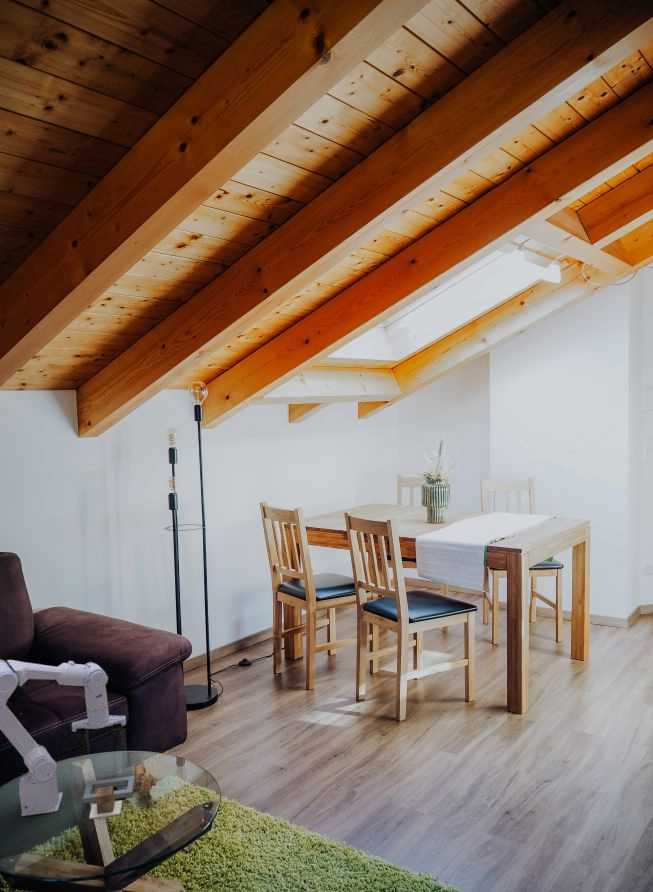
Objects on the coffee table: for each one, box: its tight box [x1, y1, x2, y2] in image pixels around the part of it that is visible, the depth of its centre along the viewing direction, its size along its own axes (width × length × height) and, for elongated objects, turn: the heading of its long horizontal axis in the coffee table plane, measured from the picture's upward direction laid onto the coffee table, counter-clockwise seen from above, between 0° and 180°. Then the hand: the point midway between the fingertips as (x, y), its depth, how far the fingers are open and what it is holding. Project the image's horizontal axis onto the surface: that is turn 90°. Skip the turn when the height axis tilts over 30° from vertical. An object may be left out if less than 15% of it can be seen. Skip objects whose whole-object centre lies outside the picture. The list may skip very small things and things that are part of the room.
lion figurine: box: [133, 763, 158, 804], centre depth 212 cm, size 15×5×9 cm, turn 31°
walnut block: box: [95, 786, 116, 814], centre depth 205 cm, size 4×4×5 cm
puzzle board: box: [82, 775, 135, 804], centre depth 213 cm, size 13×8×2 cm, turn 98°
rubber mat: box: [89, 799, 123, 820], centre depth 206 cm, size 8×6×1 cm
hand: (102, 750), depth 218 cm, fingers open, 7 cm apart
